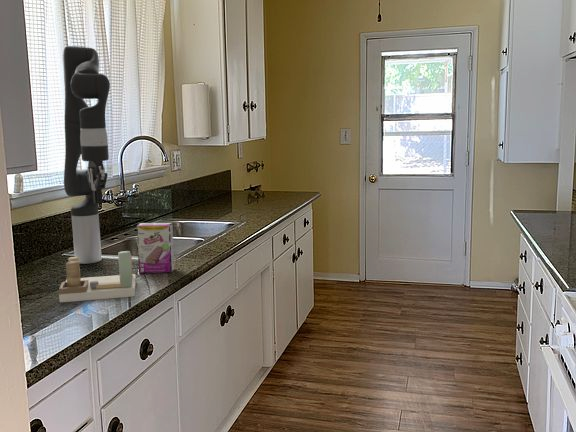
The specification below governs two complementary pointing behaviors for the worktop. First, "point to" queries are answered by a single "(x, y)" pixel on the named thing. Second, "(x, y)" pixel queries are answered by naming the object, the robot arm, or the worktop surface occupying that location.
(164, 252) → the candy bar box
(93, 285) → the hinged leg
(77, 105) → the robot arm
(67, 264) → the loose leg
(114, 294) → the stool seat
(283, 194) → the worktop surface
